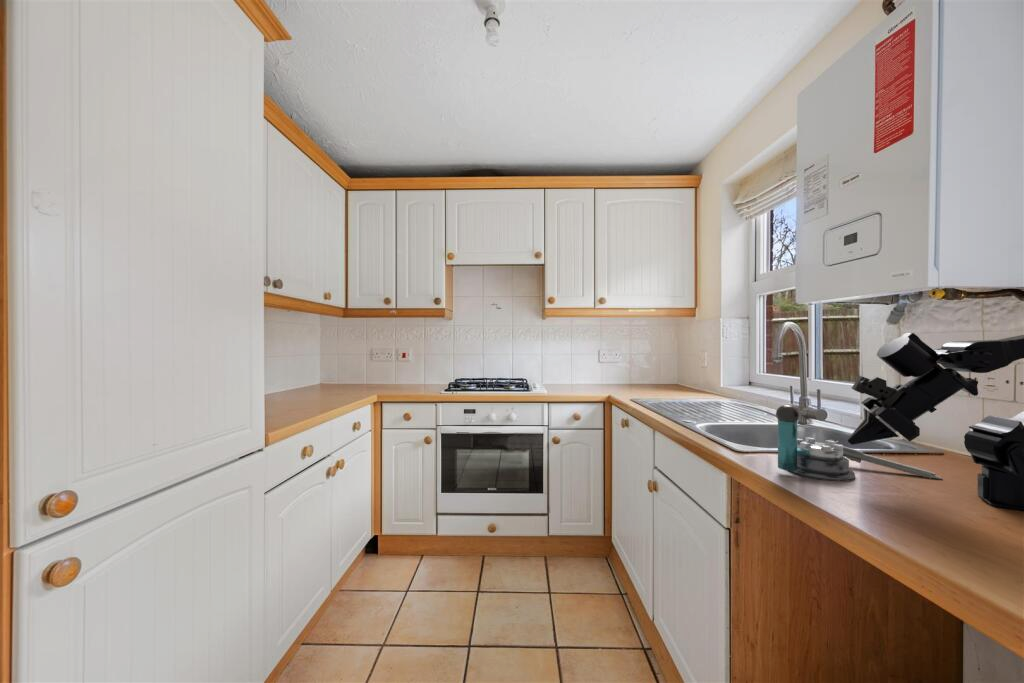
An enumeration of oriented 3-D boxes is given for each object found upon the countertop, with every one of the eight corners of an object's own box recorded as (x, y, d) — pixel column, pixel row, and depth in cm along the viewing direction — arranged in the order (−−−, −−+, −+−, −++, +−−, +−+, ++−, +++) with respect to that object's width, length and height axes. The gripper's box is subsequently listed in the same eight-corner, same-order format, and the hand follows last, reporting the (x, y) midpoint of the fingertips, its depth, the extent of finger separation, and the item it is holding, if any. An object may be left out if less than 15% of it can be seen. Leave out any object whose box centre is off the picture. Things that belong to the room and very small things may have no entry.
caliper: (824, 464, 100) (824, 438, 99) (824, 463, 100) (824, 437, 100) (943, 481, 87) (943, 452, 87) (942, 480, 88) (942, 451, 88)
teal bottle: (853, 469, 90) (853, 405, 90) (798, 475, 86) (799, 408, 86) (813, 458, 99) (813, 399, 98) (762, 463, 94) (762, 402, 94)
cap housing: (849, 468, 95) (850, 454, 95) (859, 485, 84) (859, 468, 84) (783, 459, 102) (783, 446, 102) (784, 474, 91) (784, 458, 91)
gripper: (873, 360, 89) (811, 406, 95) (894, 365, 73) (818, 419, 79) (924, 399, 84) (855, 444, 90) (957, 412, 69) (872, 466, 75)
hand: (849, 442), depth 84 cm, fingers closed
